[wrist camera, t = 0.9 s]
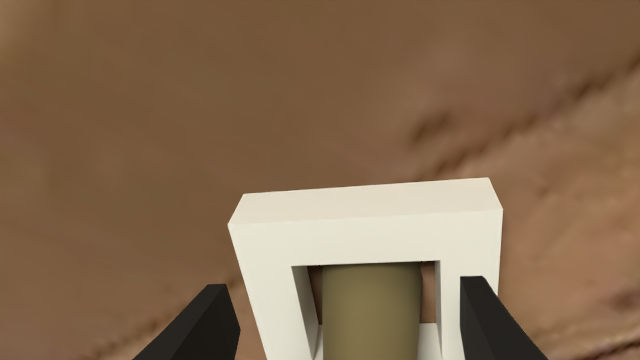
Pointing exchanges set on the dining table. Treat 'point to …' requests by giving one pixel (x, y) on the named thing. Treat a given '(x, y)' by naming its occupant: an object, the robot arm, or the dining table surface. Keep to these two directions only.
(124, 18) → the dining table surface
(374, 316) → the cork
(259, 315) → the holder
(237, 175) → the dining table surface
